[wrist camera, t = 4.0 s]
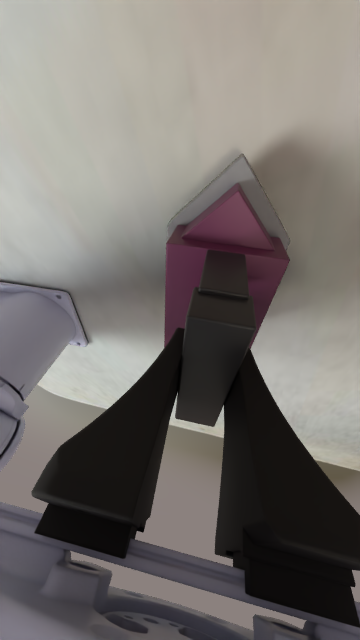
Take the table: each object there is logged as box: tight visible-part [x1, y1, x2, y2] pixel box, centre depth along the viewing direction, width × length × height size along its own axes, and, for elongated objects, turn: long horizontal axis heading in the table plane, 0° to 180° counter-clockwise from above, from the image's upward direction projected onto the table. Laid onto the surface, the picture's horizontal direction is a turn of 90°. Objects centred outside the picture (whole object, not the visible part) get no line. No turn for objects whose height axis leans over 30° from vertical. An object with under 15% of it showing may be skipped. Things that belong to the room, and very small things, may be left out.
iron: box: [164, 154, 290, 427], centre depth 11 cm, size 12×7×9 cm, turn 176°
